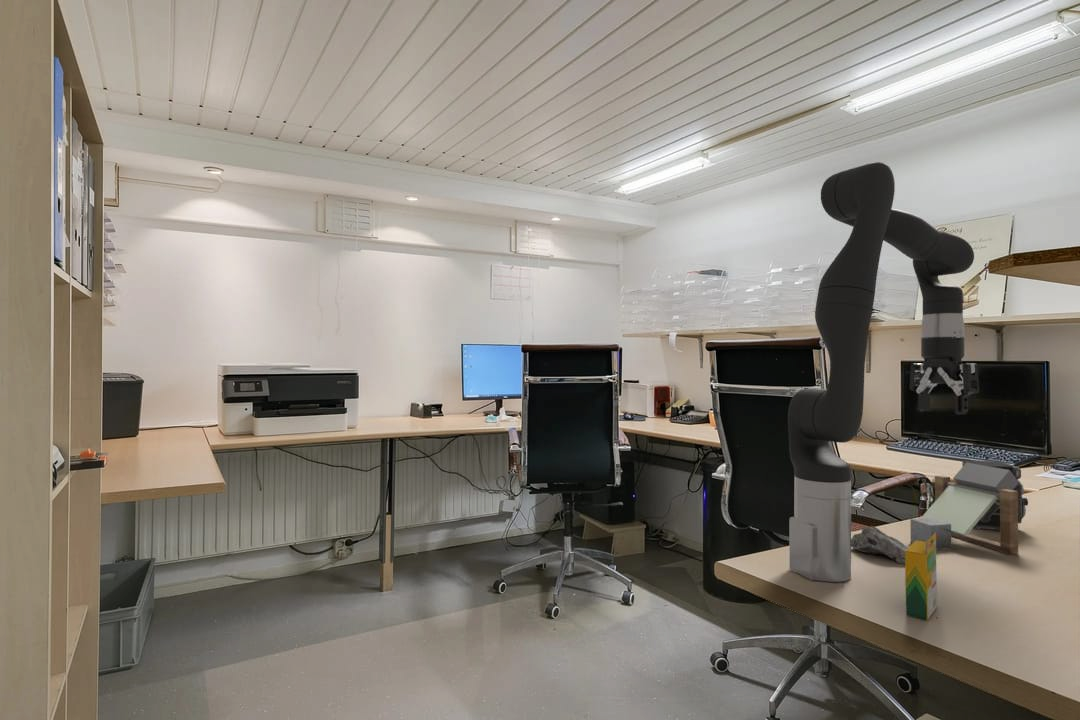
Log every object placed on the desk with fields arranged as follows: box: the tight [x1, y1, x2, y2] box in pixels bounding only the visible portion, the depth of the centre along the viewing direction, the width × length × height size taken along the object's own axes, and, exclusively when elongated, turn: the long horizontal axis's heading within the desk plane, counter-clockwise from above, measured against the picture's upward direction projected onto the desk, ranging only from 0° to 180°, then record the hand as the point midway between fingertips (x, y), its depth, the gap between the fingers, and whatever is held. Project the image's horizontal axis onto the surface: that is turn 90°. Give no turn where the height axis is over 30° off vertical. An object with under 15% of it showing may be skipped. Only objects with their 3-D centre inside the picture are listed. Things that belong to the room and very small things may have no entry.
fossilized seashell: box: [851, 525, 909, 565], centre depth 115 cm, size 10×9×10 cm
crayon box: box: [904, 532, 938, 621], centre depth 89 cm, size 7×3×12 cm, turn 136°
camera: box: [961, 460, 1029, 531], centre depth 135 cm, size 10×10×15 cm
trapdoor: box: [920, 463, 1019, 537], centre depth 123 cm, size 17×13×4 cm
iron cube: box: [910, 517, 952, 550], centre depth 121 cm, size 5×5×5 cm
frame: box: [934, 475, 1019, 555], centre depth 124 cm, size 2×17×12 cm, turn 12°
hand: (942, 412), depth 122 cm, fingers open, 8 cm apart
